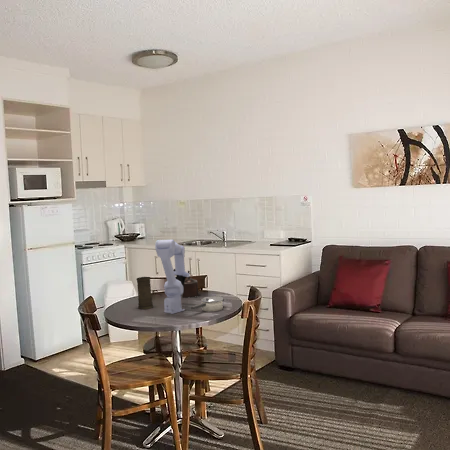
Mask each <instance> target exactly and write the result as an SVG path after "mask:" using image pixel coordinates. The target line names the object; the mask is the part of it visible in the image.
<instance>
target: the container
mask: <svg viewBox="0 0 450 450" xmlns="http://www.w3.org/2000/svg"><path fill="white" fill-rule="evenodd" d="M151 279H152V278H151V276H140V277H137V278H136V280H135V281H137V293H138V294H137V297H138V299H137V300H138V304H137V305H138V306H137V308H138V309H139V310H149V309H152V308H154V305H153V298H152V289H151V288H152V286H151Z"/></svg>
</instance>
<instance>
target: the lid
mask: <svg viewBox="0 0 450 450" xmlns="http://www.w3.org/2000/svg"><path fill="white" fill-rule="evenodd" d="M223 299H224V297H223V296H220V295H219V296H218V295H217V296H216V295H215V296H206V297H203V298H201V299H200V300H201V301H200V302H201V303H202V302H206V303H212V302H219V301H222V300H223Z"/></svg>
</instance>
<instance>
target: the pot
mask: <svg viewBox="0 0 450 450" xmlns="http://www.w3.org/2000/svg"><path fill="white" fill-rule="evenodd" d="M224 301H225V298H223V300H222V301H219V302H212V303H206V302H202V301H201V303H199V304H195V305H191V307H190V309H191V310H196V309H197V310H198V309H200V308H201V310H202V311H203V312H209V313H210V312H219V311H221V310H223V309H224V304H223V303H224Z"/></svg>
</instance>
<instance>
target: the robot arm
mask: <svg viewBox="0 0 450 450" xmlns="http://www.w3.org/2000/svg"><path fill="white" fill-rule="evenodd" d="M177 242H178V241H175V240H174V239H173V238H172V239H157V240H156V241H155V243H154V245H155V247H154V248H155V252H156V255H157V257H158V258H160V261H161V264H162V267H163V271H164V274H165V278H166V281H165V282H164V285H163V288H164V294H165V295H166V297H165V298H164V301H163V305H164V306H163V307H164V308H163V309H164V311H163V313H166V314H172V315H173V314H176V313H180V312H184V311H185V310H186V309H185V308H182V294H183V287H184V282H185V280H186V279H187V278H188V277H190V278H191V276H190V274H191V272H189V273H188V272H187V271H186V267H185V266H186V264H185V253H186V250H185V245H181V244H179V243H177ZM173 257H174V258H173ZM171 258H173V259H174V267H175V268H174V267H173V264H172V260H171ZM174 269H175V271H174ZM175 275H177V276H175Z"/></svg>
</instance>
